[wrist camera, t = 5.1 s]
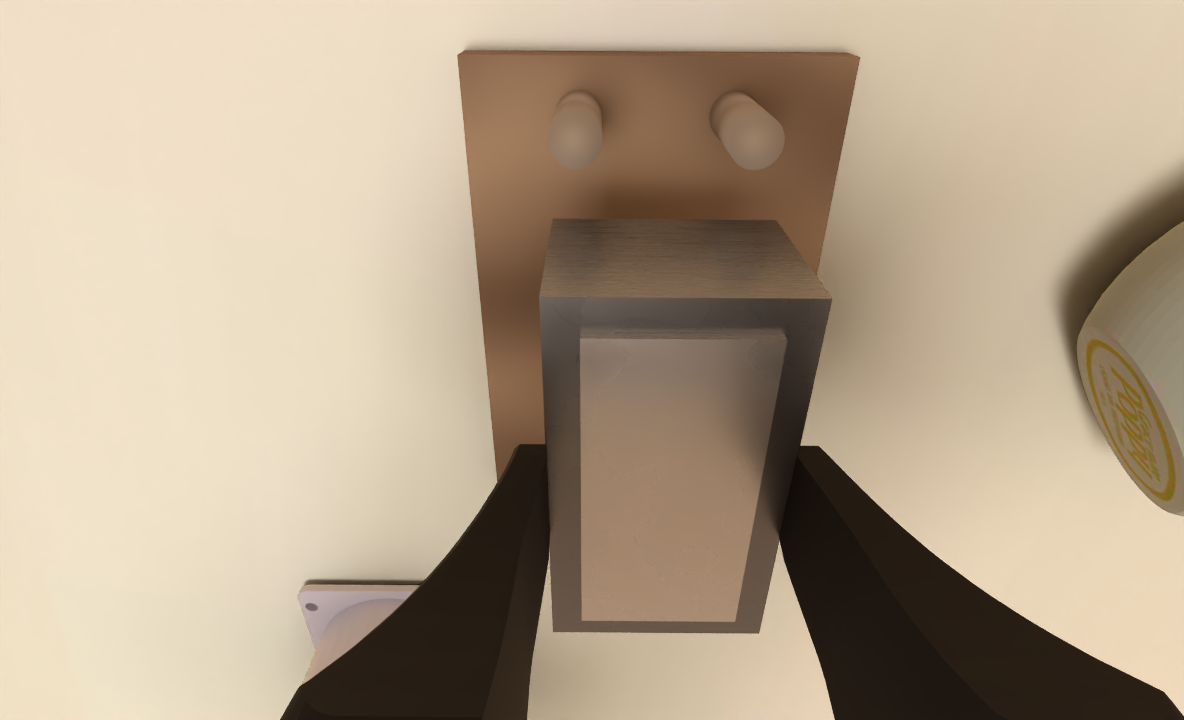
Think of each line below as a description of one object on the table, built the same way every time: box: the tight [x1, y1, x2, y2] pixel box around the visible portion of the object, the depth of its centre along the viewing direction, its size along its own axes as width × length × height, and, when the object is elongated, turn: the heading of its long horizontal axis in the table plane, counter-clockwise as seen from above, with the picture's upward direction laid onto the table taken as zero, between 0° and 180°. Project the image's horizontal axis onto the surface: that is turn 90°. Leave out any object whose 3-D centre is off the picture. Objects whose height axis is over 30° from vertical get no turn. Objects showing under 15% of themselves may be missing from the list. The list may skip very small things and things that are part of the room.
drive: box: [539, 219, 832, 633], centre depth 15 cm, size 9×5×4 cm, turn 0°
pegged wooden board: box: [457, 51, 860, 482], centre depth 19 cm, size 15×10×4 cm, turn 0°
